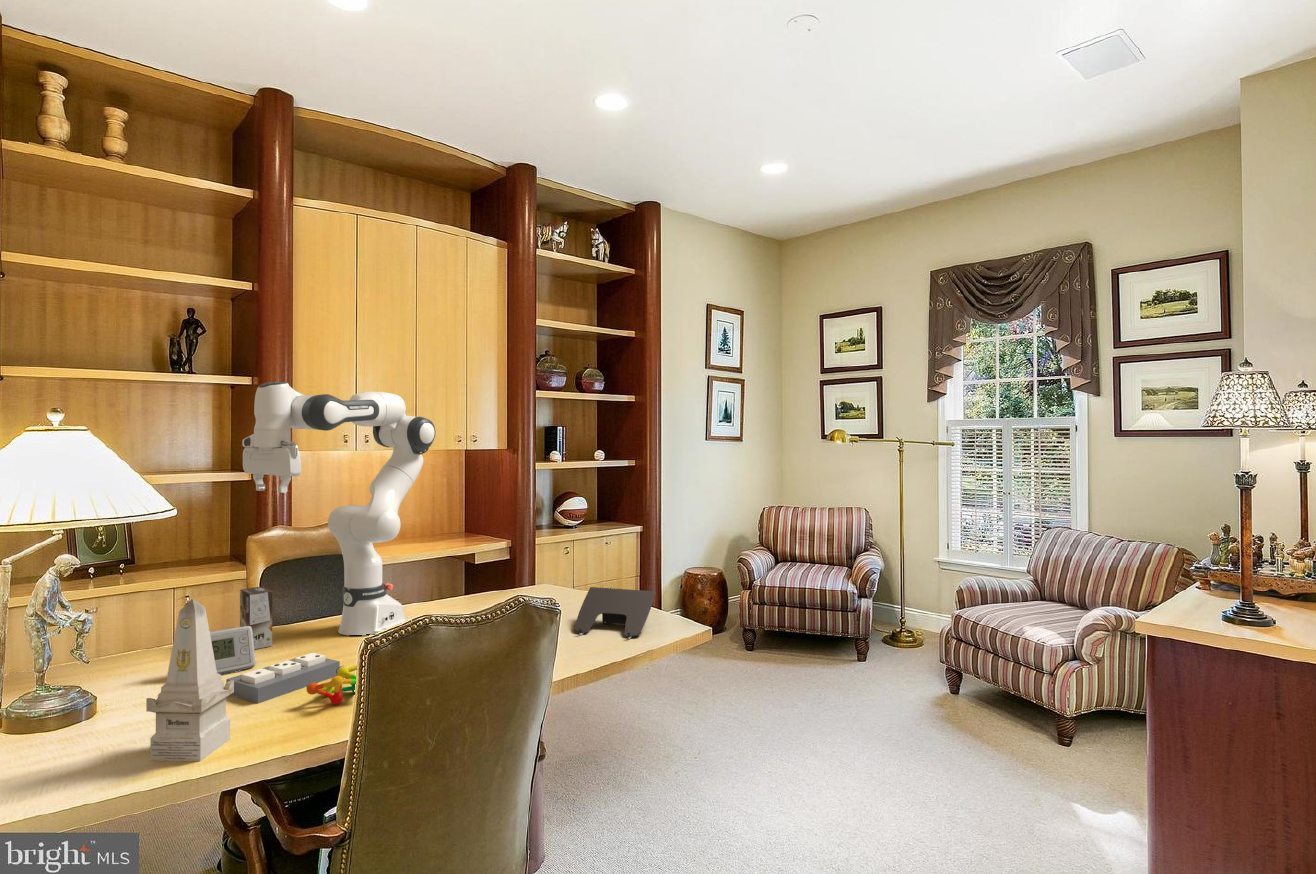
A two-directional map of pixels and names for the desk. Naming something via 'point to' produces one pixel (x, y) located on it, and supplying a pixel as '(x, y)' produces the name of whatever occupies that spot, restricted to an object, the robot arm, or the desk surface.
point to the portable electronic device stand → (615, 609)
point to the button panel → (284, 681)
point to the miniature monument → (190, 695)
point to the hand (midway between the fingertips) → (271, 491)
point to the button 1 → (258, 676)
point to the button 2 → (285, 667)
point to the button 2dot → (310, 659)
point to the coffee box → (257, 614)
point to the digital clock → (233, 649)
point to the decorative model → (335, 685)
